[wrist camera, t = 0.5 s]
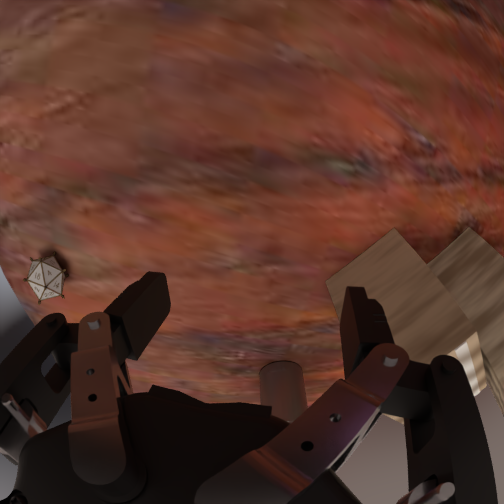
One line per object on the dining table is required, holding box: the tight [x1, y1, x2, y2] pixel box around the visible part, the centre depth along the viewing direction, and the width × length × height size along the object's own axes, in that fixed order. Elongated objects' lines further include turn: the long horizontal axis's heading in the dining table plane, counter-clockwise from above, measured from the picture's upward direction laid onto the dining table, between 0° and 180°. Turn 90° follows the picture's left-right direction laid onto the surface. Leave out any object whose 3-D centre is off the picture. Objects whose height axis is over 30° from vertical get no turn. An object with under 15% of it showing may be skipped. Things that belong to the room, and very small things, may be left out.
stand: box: [325, 227, 504, 424], centre depth 31 cm, size 30×27×33 cm
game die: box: [23, 252, 69, 305], centre depth 39 cm, size 9×8×10 cm
